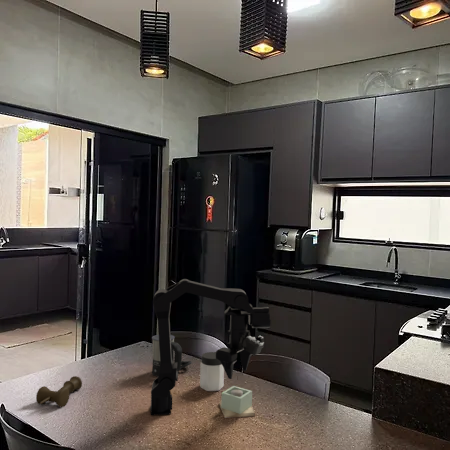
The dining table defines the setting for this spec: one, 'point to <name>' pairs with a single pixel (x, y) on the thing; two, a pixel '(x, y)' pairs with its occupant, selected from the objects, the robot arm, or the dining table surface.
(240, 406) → the sleeve
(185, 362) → the milk frother
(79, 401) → the dining table surface
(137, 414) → the dining table surface
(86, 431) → the dining table surface
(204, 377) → the jar
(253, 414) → the knob on square plate
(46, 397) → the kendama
